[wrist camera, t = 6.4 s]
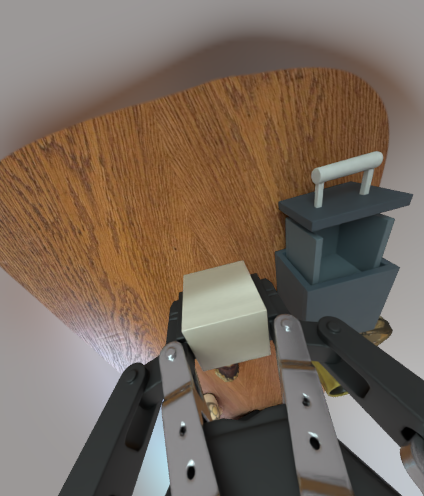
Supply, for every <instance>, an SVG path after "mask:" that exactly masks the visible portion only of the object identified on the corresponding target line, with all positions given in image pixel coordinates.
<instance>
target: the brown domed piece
mask: <svg viewBox="0 0 424 496" xmlns="http://www.w3.org/2000/svg"><path fill="white" fill-rule="evenodd" d="M204 398H205V401H206V404H207V407H208V409H209V411H210V414H211V417H212V420H213V421H214V420H218V419H220V415H221V414H222V412H223V411H222V409H221V408H219V406H218V403H217V401H216V399H215V398H214V396H213V395H211V394H209V393H207V394H206V395H204Z"/></svg>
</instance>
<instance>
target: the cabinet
mask: <svg viewBox="0 0 424 496" xmlns="http://www.w3.org/2000/svg"><path fill="white" fill-rule="evenodd" d="M275 263H276V279H277V292H278V294H279V296H280V297H281V299H282V301H283V302H284V304H285V306H286V307H287V309H288V311H289V312H290V313H291V314H292V315H293V316H294V317H296V318H297V319H299V320H302V321H311V322H318V321H319V319H321V318H322V317H325V316H332V317H336V318H338V319H340V320H342V321H343V322H345V323H346V324H348V325H349V326H350V327H352V328H353V329H354V330H356V331H357V332H358V333H361V332H365V331H369V330H373V329H374V328H375V326H376V324H377V321H378V319H379V316H380V314H381V311H382V309H383V307H384V304H385V302H386V299H387V297H388V295H389V292H390V290H391V288H392V285H393V283H394V281H395V278H396V276H397V273H398V271H399V268H400V267H398V266H397V265H395V264H392V263H391V262H390V261H388V260H386V259H384V258H382V259H381V262H380V265H379V267H378V268H374V269H370V270H367V271H363V272H359V273H355V274H352V275H348V276H344V277H340V278H337V279H333V280H329V281H325V282H322V283H318V284H314V285H310V284H309V283H308V282H307V281H306V280H305V279H304V277H303V276H302V275H301V274H300V273H299V272H298V271H297V270H296V268H295V267H294V266H293V265H292V264H291V263H290V262H289V261H288V259H287V258H286V249H283V250H279V251H276V252H275Z"/></svg>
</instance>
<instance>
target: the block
mask: <svg viewBox="0 0 424 496" xmlns="http://www.w3.org/2000/svg"><path fill="white" fill-rule="evenodd" d="M182 333H183V335H184V337H185V339H186V340H187V342H188V344H189V346H190V348H191V350H192V352H193V353H194V355H195V357H196V359H197V361H198V363H199V364H200V366H201V368H202V370H203V371H207V370H211V369H215V368H219V367H223V366H227V365H231V364H235V363H239V362H243V361H247V360H251V359H256V358H260V357H264V356H268V355H271V352H270V341H269V330H268V318H267V309H266V307H265V305H264V303H263V301H262V299H261V297H260V295H259V293H258V291H257V288H256V286H255V284H254V282H253V280H252V278H251V276H250V274H249V272H248V270H247V268H246V265H245V263H244V261H243V260H242V261H238V262H234V263H231V264H227V265H223V266H219V267H215V268H211V269H207V270H203V271H199V272H195V273H191V274H187V275H184V282H183V307H182Z"/></svg>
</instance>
